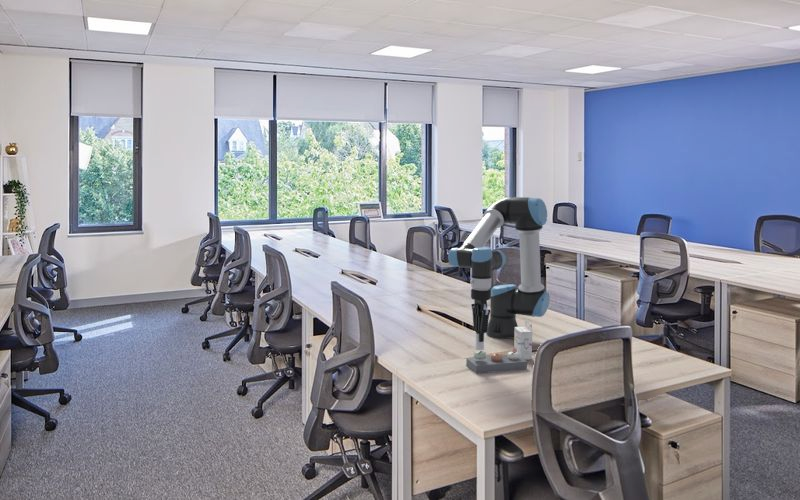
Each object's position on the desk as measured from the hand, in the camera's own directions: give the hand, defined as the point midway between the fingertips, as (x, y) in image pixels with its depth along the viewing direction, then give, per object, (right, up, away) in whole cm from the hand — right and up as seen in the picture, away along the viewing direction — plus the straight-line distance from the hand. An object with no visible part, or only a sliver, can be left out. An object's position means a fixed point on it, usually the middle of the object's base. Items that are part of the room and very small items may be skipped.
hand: (479, 349), depth 243 cm
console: (+7, -7, +3) cm, 11 cm away
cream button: (+14, -4, +4) cm, 15 cm away
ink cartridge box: (+20, -6, +17) cm, 26 cm away
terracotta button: (+7, -4, +3) cm, 9 cm away
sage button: (0, -3, +1) cm, 3 cm away
